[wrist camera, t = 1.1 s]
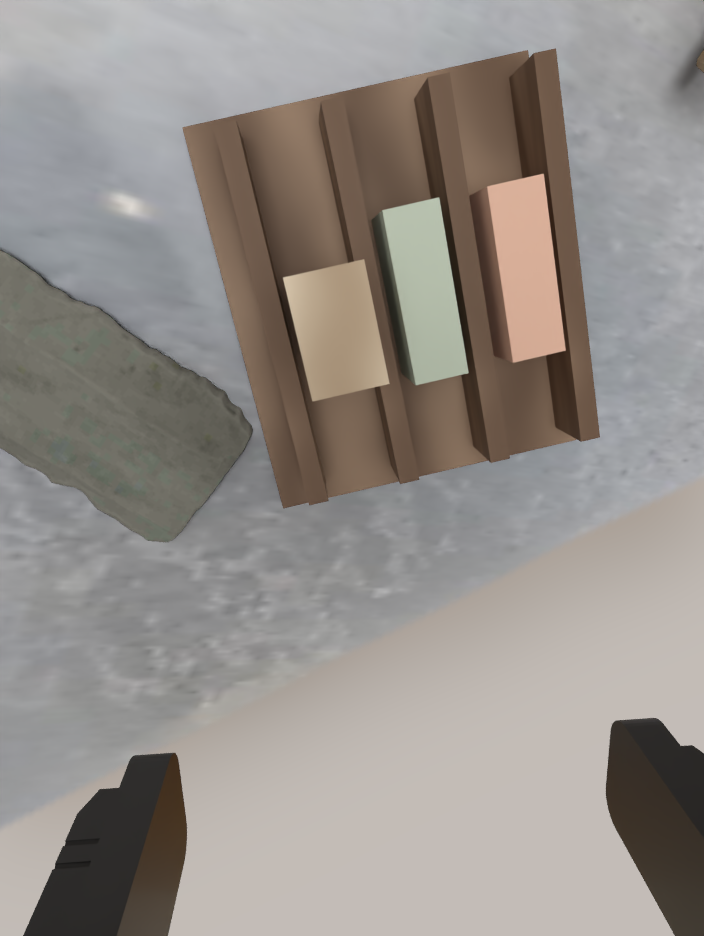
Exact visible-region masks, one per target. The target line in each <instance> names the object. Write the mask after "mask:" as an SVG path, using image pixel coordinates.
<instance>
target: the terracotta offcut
mask: <svg viewBox="0 0 704 936" xmlns="http://www.w3.org/2000/svg"><path fill="white" fill-rule="evenodd" d="M469 199H470V206H471V212H472V219H473V225H474V231H475V238H476V244H477V251H478V257H479V264H480V270H481V276H482V283H483V289H484V296H485V302H486V309H487V315H488V321H489V328H490V334H491V341H492V347H493V354H494V356H496V357H499V358H501V359H504V360H507V361H510V362H512V363H514V362H519V361H523V360H527V359H532V358H536V357H540V356H545V355H549V354H553V353H557V352H562V351H566V349H565V341H564V333H563V325H562V317H561V309H560V301H559V293H558V285H557V276H556V268H555V260H554V252H553V244H552V236H551V228H550V220H549V212H548V204H547V196H546V188H545V180H544V174H540V175H535V176H531V177H527V178H522V179H518V180H513V181H509V182H504V183H500V184H496V185H491V186H487V187H485V188H483V189H481V190H479V191H478V192H476V193H474V194H472V195H470V196H469Z"/></svg>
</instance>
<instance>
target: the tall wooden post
mask: <svg viewBox="0 0 704 936" xmlns="http://www.w3.org/2000/svg"><path fill="white" fill-rule="evenodd" d="M283 281H284V285H285V289H286V293H287V297H288V301H289V306H290V310H291V314H292V318H293V322H294V326H295V331H296V335H297V339H298V343H299V347H300V352H301V356H302V360H303V364H304V368H305V372H306V377H307V381H308V385H309V389H310V393H311V397H312V402H313V401H317V400H322V399H326V398H330V397H335V396H339V395H343V394H348V393H352V392H356V391H361V390H365V389H369V388H374V387H378V386H382V385H387V384H389V379H388V374H387V369H386V364H385V359H384V354H383V349H382V345H381V340H380V335H379V330H378V325H377V320H376V315H375V310H374V305H373V300H372V295H371V291H370V286H369V281H368V276H367V271H366V266H365V261H364V259H363V260H358V261H354V262H350V263H345V264H341V265H336V266H332V267H328V268H323V269H319V270H315V271H310V272H306V273H301V274H297V275H293V276H288V277H284V278H283Z"/></svg>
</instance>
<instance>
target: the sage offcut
mask: <svg viewBox="0 0 704 936" xmlns="http://www.w3.org/2000/svg"><path fill="white" fill-rule="evenodd" d="M371 221H372V226H373V231H374V236H375V241H376V246H377V251H378V256H379V261H380V266H381V271H382V277H383V282H384V287H385V292H386V297H387V302H388V307H389V312H390V317H391V322H392V327H393V332H394V337H395V342H396V348H397V353H398V358H399V363H400V368H401V373H402V374H403V375H404V376H405V377H407V378H408V379H409V380H410V381H411V382H413V383H414V384H415V385H419V384H424V383H428V382H432V381H437V380H441V379H445V378H450V377H454V376H458V375H463V374H467V373H469V372H468V366H467V360H466V354H465V348H464V343H463V337H462V331H461V325H460V319H459V313H458V307H457V301H456V295H455V289H454V283H453V277H452V271H451V265H450V259H449V253H448V247H447V241H446V235H445V229H444V223H443V217H442V211H441V205H440V199H439V197H438V198H434V199H430V200H425V201H421V202H416V203H412V204H408V205H403V206H399V207H394V208H390V209H386V210H382V211H381V212H380V213H379V214H378V215H376V216H375V217H374V218H373V219H372V220H371Z"/></svg>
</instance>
